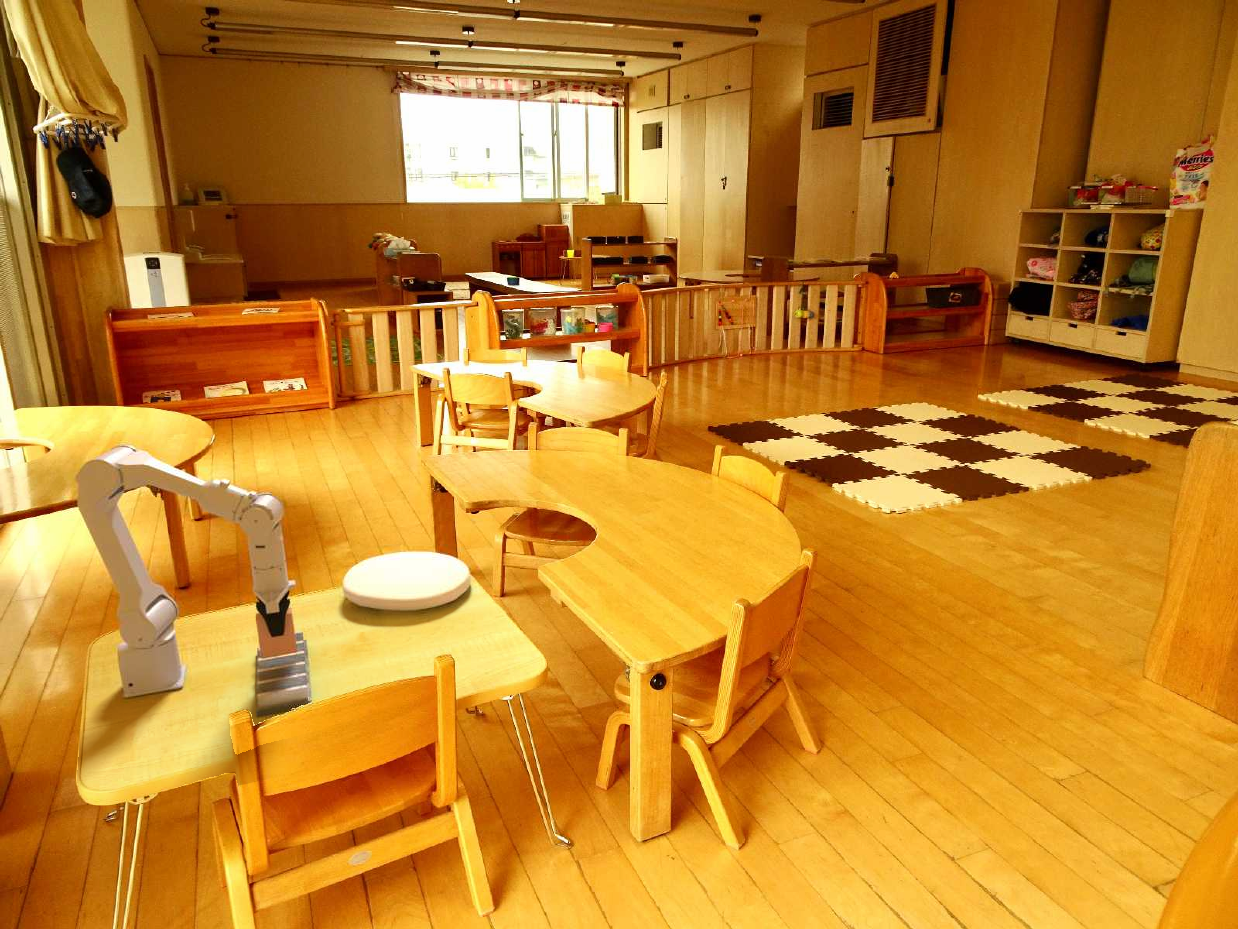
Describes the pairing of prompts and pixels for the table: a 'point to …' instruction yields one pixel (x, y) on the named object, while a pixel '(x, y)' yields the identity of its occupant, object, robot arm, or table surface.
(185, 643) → the table surface
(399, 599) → the white round disc
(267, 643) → the tile
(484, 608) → the table surface
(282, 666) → the rack
